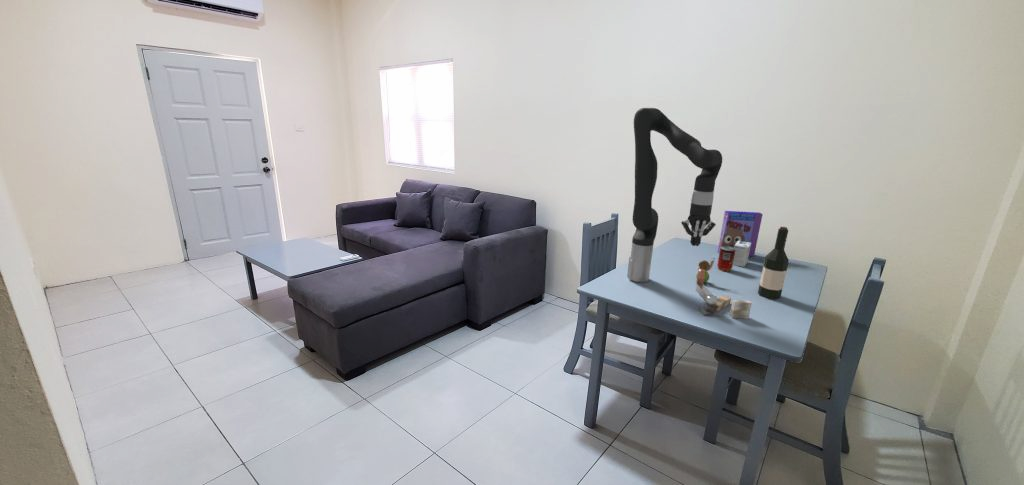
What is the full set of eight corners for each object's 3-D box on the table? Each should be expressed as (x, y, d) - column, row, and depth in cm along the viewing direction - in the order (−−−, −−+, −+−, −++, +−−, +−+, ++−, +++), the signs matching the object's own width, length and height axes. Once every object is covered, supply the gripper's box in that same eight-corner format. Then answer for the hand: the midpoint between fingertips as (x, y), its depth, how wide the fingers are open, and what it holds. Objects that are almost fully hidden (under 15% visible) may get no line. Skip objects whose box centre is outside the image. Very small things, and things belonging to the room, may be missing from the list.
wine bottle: (753, 291, 178) (767, 224, 169) (771, 291, 179) (786, 224, 170) (766, 299, 170) (781, 230, 161) (785, 299, 171) (801, 230, 162)
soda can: (733, 272, 200) (737, 249, 197) (718, 270, 202) (721, 248, 199) (730, 268, 206) (734, 246, 203) (715, 266, 208) (719, 244, 205)
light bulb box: (733, 259, 220) (737, 240, 217) (747, 262, 216) (751, 242, 213) (730, 264, 212) (734, 244, 209) (744, 267, 208) (748, 247, 205)
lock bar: (717, 306, 155) (721, 284, 152) (707, 305, 155) (711, 283, 152) (701, 289, 170) (705, 269, 167) (693, 289, 170) (696, 268, 168)
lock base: (704, 316, 154) (707, 300, 152) (691, 299, 169) (693, 284, 167) (748, 318, 153) (751, 303, 151) (731, 301, 168) (733, 287, 166)
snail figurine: (711, 285, 184) (716, 259, 181) (696, 283, 185) (700, 258, 182) (708, 280, 189) (713, 256, 186) (694, 279, 191) (698, 254, 187)
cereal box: (720, 254, 228) (727, 212, 221) (717, 251, 232) (724, 210, 226) (753, 256, 225) (762, 214, 218) (750, 253, 230) (759, 212, 223)
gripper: (688, 204, 154) (682, 247, 159) (723, 204, 155) (716, 248, 160) (680, 200, 162) (674, 242, 167) (714, 201, 162) (707, 243, 167)
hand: (695, 245), depth 163 cm, fingers closed
